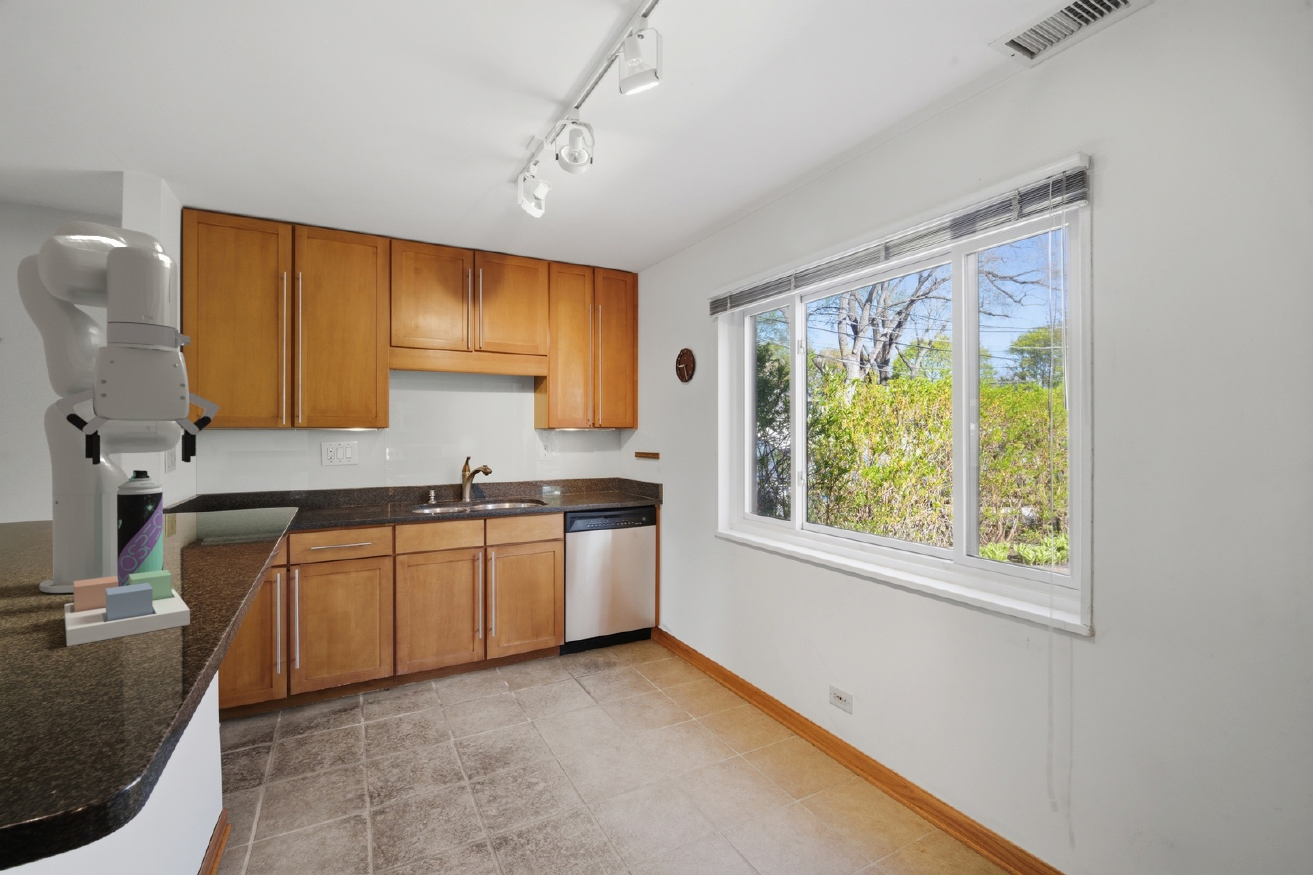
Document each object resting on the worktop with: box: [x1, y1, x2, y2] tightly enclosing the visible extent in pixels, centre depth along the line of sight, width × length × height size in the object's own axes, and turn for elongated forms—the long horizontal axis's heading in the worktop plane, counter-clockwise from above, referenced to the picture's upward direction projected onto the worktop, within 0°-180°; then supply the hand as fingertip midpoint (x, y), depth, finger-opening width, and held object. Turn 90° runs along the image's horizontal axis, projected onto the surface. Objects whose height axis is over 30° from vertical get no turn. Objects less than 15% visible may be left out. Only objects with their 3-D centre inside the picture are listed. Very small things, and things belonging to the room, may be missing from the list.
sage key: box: [129, 569, 173, 601], centre depth 88 cm, size 4×4×4 cm
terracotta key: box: [73, 576, 118, 612], centre depth 84 cm, size 4×4×4 cm
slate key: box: [106, 583, 153, 621], centre depth 81 cm, size 4×4×4 cm
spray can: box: [117, 469, 164, 587], centre depth 95 cm, size 6×6×20 cm
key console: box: [64, 588, 191, 647], centre depth 83 cm, size 15×12×2 cm
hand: (142, 462), depth 85 cm, fingers open, 9 cm apart
